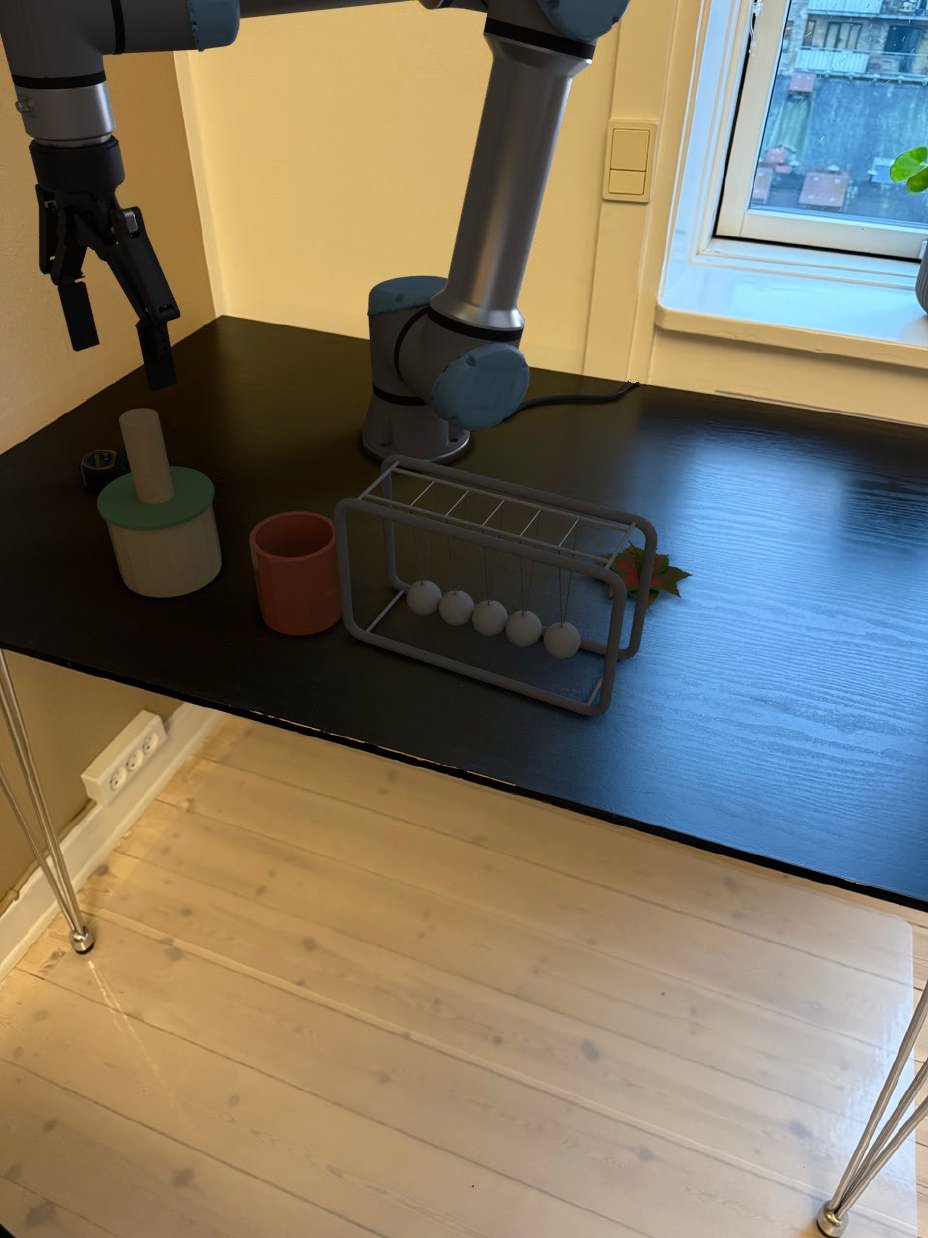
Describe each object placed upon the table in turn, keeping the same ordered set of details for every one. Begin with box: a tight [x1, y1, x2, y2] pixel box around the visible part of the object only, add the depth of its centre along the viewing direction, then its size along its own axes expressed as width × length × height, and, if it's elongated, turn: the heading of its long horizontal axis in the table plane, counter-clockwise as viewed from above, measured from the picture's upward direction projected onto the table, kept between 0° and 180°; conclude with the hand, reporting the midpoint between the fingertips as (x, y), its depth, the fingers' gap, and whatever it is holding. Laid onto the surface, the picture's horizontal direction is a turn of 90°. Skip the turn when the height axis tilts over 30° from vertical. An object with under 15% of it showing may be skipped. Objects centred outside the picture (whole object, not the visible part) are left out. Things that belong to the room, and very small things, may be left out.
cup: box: [249, 510, 342, 636], centre depth 104 cm, size 9×9×10 cm
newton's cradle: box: [332, 455, 658, 717], centre depth 96 cm, size 30×10×18 cm, turn 64°
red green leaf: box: [599, 539, 694, 610], centre depth 110 cm, size 12×12×5 cm
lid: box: [96, 407, 216, 531], centre depth 104 cm, size 13×13×11 cm
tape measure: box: [77, 446, 131, 493], centre depth 126 cm, size 7×7×4 cm
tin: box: [105, 502, 223, 599], centre depth 110 cm, size 11×11×10 cm
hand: (123, 366), depth 97 cm, fingers open, 13 cm apart
